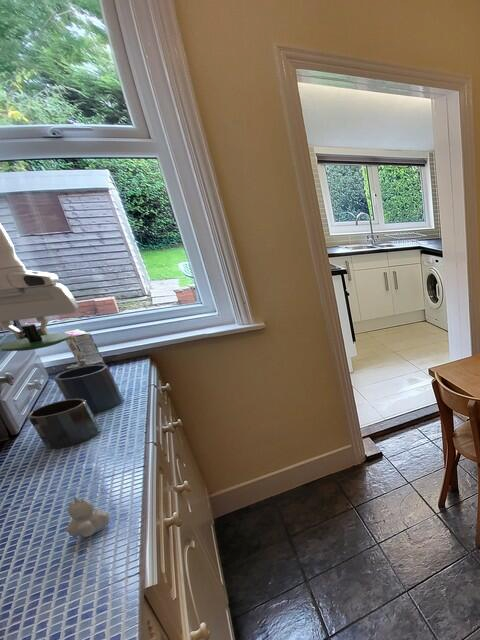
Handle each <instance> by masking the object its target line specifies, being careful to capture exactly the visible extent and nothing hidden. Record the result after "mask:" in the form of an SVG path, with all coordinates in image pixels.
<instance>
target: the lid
mask: <svg viewBox="0 0 480 640" xmlns="http://www.w3.org/2000/svg"><path fill="white" fill-rule="evenodd" d="M37 328H38V327H37V326H36V324H35V323H29V324H24V325H21V326H20V329H21V330H23V332H24V333H25V335H26V337H27V338H22V339H16V340H13V341H10V342H7V343H4V344H2V345H0V351H2V352H24V351H33V350H39V349H43V348H48V347H51V346H52V347H53V346H55V345H58V344H60V343H62V342H66V340H68V339H70V338H71V335H70V334H67V333H63V332H61V333H60V332H59V333H49V334H48V335H43V336H39V335H38V332H36V329H37Z"/></svg>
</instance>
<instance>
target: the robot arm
mask: <svg viewBox="0 0 480 640" xmlns="http://www.w3.org/2000/svg"><path fill="white" fill-rule="evenodd" d="M59 281H60V278H59V276H58V275H57V274H56V273H52V272H45V271H37V270H29V269H27V268H26V267H25V265H24V263H23V262H22V261H21V260H20V259H19V257H18V256H17V254H16V251H15V246H14V244H13V241H12V240H11V238H10V236H9V234H8V232H7V231H6V229H5V228H4V227H3V225H2V223H0V325H1V326H2V327H3V328H4V329H6V330H7V331H10V332H11V333H13V334H14V336H15V338H16V340H21V339H25V338H27V337H26V335H25V333H24V332H23V330H22V329H21V330H20V328H18V327H16V326H15V325H14V324H15V322H14V321H20V320H29V319H35V320H36V321H37V323H40V326H39V327H37V329H36V332H38V335H39V336H43V335H48V334H50V332H49V330H48V328H47V325H48V323H49V317H52V316H53V317H54V316H60V315H68V314H74V313H76V312H77V311H78V309H79V304H78V302H77V300H76V298H75V297H74V295H73V293H72V292H71V291H70V290H69V288H68V287H67V286H66V285H65V284H62V283H60V282H59Z"/></svg>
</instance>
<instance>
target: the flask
mask: <svg viewBox="0 0 480 640" xmlns="http://www.w3.org/2000/svg"><path fill="white" fill-rule="evenodd" d="M85 360H86V359H82V360H80V361H81V362H80V363H79V364H78V363H75V364H71V365H70V366H67V367H65V371H68V370H71V369H75V368H79V367H84V366H90V365H105V364H106V363H105V364H104V362H105V360H104V361H101V360H100V361H96V362H91V363H87V362H86V361H85Z"/></svg>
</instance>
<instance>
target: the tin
mask: <svg viewBox="0 0 480 640" xmlns="http://www.w3.org/2000/svg"><path fill="white" fill-rule="evenodd" d="M53 379H54V381H55V384H56V385H57V387H58V389H59V390H60V392H61V394H62V396H63V398H64V400H69V399H84V400H85V401H86V403H87V405H88V406H89V408H90V410H91V412H92V414H93V415H94V414H97V413H102V412H105V411H108V410H110V409H113V408H115V407H118V406H119V405H120V404H122V403H123V402H124V397H123V396H122V393H121V391H120V389H119V387H118V385H117V383H116V380H115V378H114V377H113V374H112V373H111V370H110V368H109V366H108V365H90V366H84V367H79V368H75V369H71V370H68V371H66V370H65V371H62V372H60V373H58V374H56V375H55V376H53Z"/></svg>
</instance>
